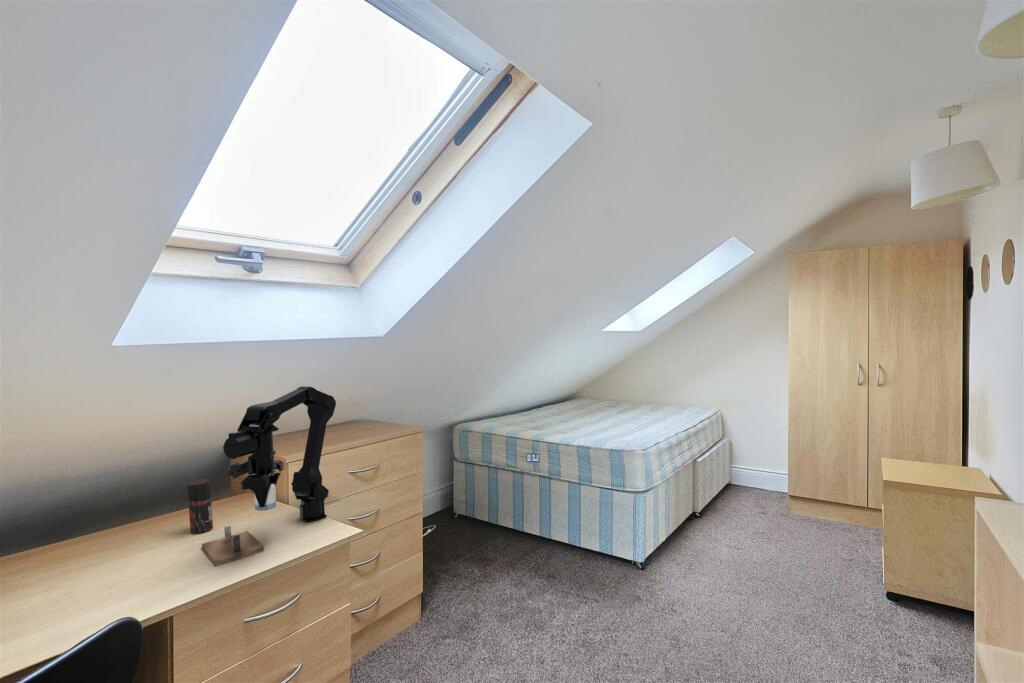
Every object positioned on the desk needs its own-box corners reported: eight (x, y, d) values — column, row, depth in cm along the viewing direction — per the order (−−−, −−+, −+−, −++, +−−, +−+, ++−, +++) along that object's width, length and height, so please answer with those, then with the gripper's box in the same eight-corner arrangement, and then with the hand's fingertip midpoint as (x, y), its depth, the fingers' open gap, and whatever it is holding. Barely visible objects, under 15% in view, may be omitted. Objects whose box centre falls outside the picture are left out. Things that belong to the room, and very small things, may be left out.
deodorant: (211, 532, 158) (207, 483, 157) (188, 535, 156) (185, 486, 155) (214, 524, 163) (211, 477, 163) (192, 528, 161) (189, 480, 160)
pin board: (247, 534, 155) (246, 517, 155) (263, 550, 144) (262, 532, 144) (201, 548, 147) (200, 530, 147) (215, 566, 136) (213, 546, 135)
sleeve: (277, 503, 152) (276, 482, 151) (272, 509, 146) (271, 488, 146) (258, 505, 151) (257, 484, 150) (252, 511, 146) (251, 490, 145)
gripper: (243, 443, 156) (246, 495, 157) (218, 460, 137) (222, 518, 138) (282, 441, 157) (285, 492, 158) (263, 457, 139) (266, 515, 140)
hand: (265, 503), depth 149 cm, fingers closed on sleeve, 5 cm apart
